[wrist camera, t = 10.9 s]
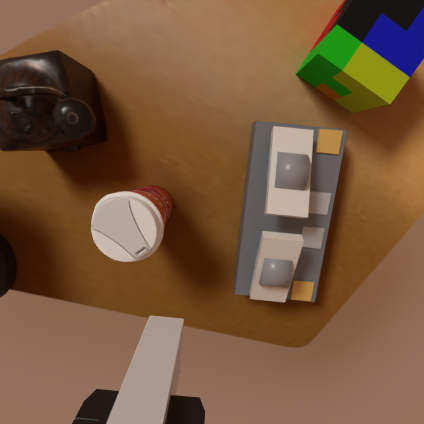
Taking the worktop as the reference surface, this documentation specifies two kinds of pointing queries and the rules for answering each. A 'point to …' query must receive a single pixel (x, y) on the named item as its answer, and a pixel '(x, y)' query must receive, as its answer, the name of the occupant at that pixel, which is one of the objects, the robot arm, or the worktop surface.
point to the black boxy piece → (48, 104)
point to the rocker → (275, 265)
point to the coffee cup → (131, 222)
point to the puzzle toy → (367, 52)
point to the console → (307, 227)
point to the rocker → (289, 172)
